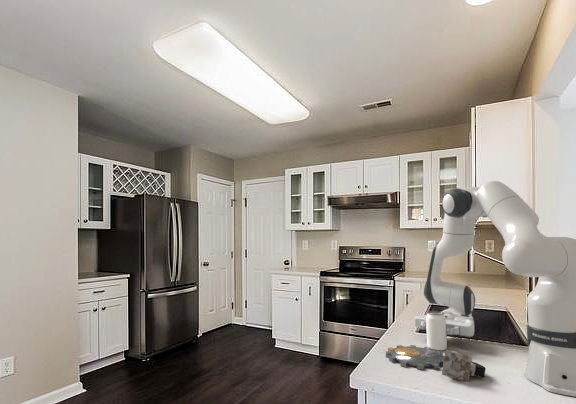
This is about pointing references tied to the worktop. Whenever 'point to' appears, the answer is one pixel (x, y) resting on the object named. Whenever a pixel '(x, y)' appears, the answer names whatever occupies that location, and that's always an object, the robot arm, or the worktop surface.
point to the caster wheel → (461, 366)
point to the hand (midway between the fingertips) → (435, 329)
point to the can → (436, 331)
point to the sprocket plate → (416, 357)
